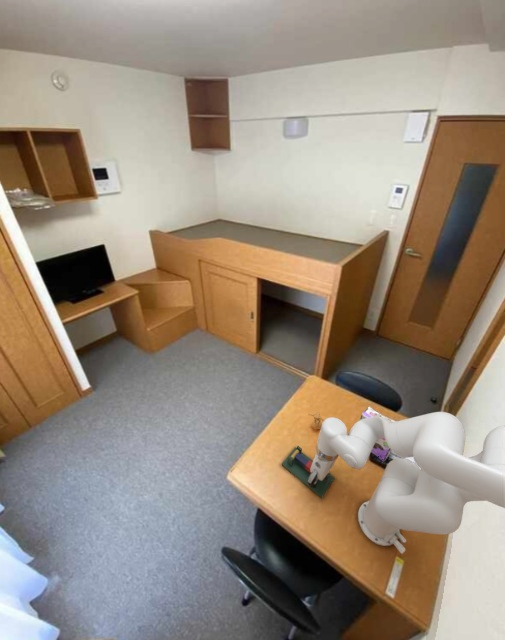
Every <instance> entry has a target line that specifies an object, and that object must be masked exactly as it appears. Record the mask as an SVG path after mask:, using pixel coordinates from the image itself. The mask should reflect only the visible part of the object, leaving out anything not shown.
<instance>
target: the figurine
mask: <svg viewBox="0 0 505 640" xmlns="http://www.w3.org/2000/svg"><path fill="white" fill-rule="evenodd" d="M307 416H312V417H313V419H314V420H313V421H312V423H311V427H312V428H313V429H315V430H321V426H322V422H324V420H325V419H323V418H322V416H321V413H320V412H319V411H317V412H316V413H315V414H313V413H308V414H307ZM321 421H322V422H321Z"/></svg>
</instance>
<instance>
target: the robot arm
mask: <svg viewBox="0 0 505 640" xmlns="http://www.w3.org/2000/svg"><path fill="white" fill-rule="evenodd" d="M386 418H387V417H386ZM386 418H383V417H379V416H373V417H369V418H365V419H362V420H360V419H359V420H358V421H356V422H355V423H354V424H353V425H352V427H351V428H350V430H349V431H348V428H347V425H346V423H345V422H344V421H342V420H341V419H340V418H337V417H334V416H332V417H330V416H329V417H327V418H325V419H323V420H324V421H322V422H321V424H322V426H321V428H320V429H319V430H320V431H319V434H318V437H317V441H316V444H315V455H314V458H313V459H312V461H313V463H312V466H311V469H310V471H311V472H312V473H311V474H310V476H309V478H308V484H309V485H310V486H311V487H313V488H314V489H315V488H316V486H317V483H318V482H317V481H318V479H319V480H321V481H322V480H323V479H324V478H325V477H326V475H327V474H328V473H330V471H331V470H332V468H333V467H334V465H335V463H336V462H337V461H336V460H338V458H339V457H340V458H341V459H342V460H343V461H344V462H345V463H346V464H347V465H348V466H349V467H351V468H353V469H356V470H361V469H363V468H364V467H365V466H366V464H367V462H368V459H369V458H370V455H371V454H372V453H371V451H372V449H373V446H374V444H375V442H376V440H379V439H382V438H385V439H386V442H387V444H388V446H389V448H390V449H391V450H392V451H391V453H393V454H394V455H395V456H397V458H393V459H391V460H390V461H389V462H388V463H387V465H386V466H385V468H384V470H383V473H382V476H381V478H380V480H379V482H378V484H377V486H376V488H375V490H374V492H373V493H372V495H371V497H370V499H369V500H366V501H365V502H363V503H362V504H361V505H360V507H359V509H358V513H357V520H358V524H359V527H360V529H361V531H362V532H363V534H364V535H365V536H366V537H367V538H368V540H370V541H371V542H372V543H374V544H376V545H378V546H381V547H389V546H392V545H393V546H394V547H395V548H396V550H398V552H399V553H400V554H401V555H402V554H404V552H405V551H406V550H407V548H405V546H404V545H405V543H406V542H407V539H406V538H405V536H403V535H402V533H401V532H400V530H402V531H409V532H418V533H424V534H433V535H450V534H454V533H455V532H457V531H458V530H459V528H460V526H461V525H462V521H463V515H464V507H465V505H466V504H467V503H470V502H488V503H491V504H492V505H495V506H498V507H500V508H503V509H505V425H501V426H500V425H499V426H497V427H495V428H492V430H490V431H489V432H488V434H486V437H485V438H484V441H483V445H482V451H480V452H479V453H478V454H475V455H474V456H469V457H468V456H465V455H464V451H465V445H466V431H465V428H464V426H463V423H462V422H461V421H460V419H458V417H456V416H455V415H454V414H452V413H449V412H446V411H434V412H430V413H426V414H420V415H417V416H412V417H409V418H405V419H401V420H397V421H393V420H391V419H389V418H387V419H386ZM408 458H413V460H414V461H412V460H410V459H408ZM317 473H318V474H317ZM315 476H316V477H317V478H316V480H315V479H314V478H315ZM398 539H399V540H400V541H399V540H398ZM403 544H404V545H403Z"/></svg>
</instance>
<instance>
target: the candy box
mask: <svg viewBox="0 0 505 640" xmlns="http://www.w3.org/2000/svg"><path fill="white" fill-rule="evenodd" d="M373 416H379V417H383V418H386V419H388V418H387V417H386V416H384V415H382V414H381V413H380V412H379V411H377V410H375V409H373V408H372V407H371V406H370V405H369V406H368V407H367V408H366V409H365V410H364V411H363V412H362V413H361V416H360V418H359V421H360V420H362V419H365V418H369V417H373ZM391 453H392V450H391V449H390V448H389V446H388V444H387V442H386V439H385V438H382V439H379V440H376V442H375V444H374V446H373V449H372V451H371V453H370V454H372V455H374V456H375V457H376V458H378V459H379V460H380V461H382V462H383V463H385V461H386V460H387V459H388V457H390V455H391ZM378 456H379V457H378ZM382 459H383V460H382Z"/></svg>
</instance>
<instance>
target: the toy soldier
mask: <svg viewBox="0 0 505 640" xmlns="http://www.w3.org/2000/svg"><path fill="white" fill-rule="evenodd" d="M291 458H293V459H294V458H295V460H296V461H297V462H298V463H300V464H301V465H302V466H303V467H305V469H306V470H307V471H308V472H310V473H312V472H311V471H310V469H311V466H312V463H313V462H311V461H310V460H308V459H306V458H305V457H304V456H303V455H301V454H300V453H299V450H296V451H295V452H294V453H293V454H292V456H291ZM317 474H318V473H317ZM328 478H329V477H328V476H327V475H326V477H325V478H324V479H323V480H322V481H323V482H325V483H326V481H327V480H328Z"/></svg>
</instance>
